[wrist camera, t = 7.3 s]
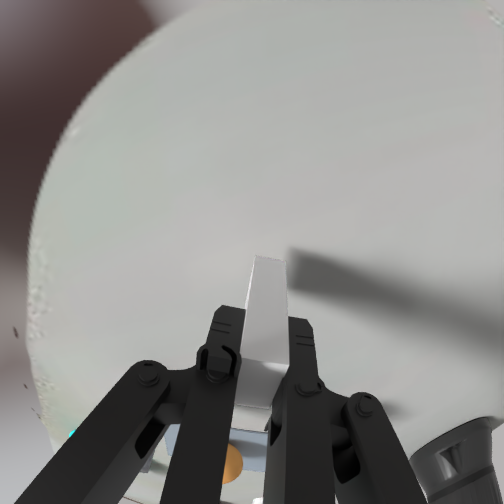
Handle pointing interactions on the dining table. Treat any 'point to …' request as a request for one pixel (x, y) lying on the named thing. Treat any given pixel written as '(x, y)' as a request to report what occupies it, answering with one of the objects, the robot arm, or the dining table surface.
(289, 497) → the robot arm
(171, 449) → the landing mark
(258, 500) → the white cup
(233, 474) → the ball
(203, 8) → the dining table surface
